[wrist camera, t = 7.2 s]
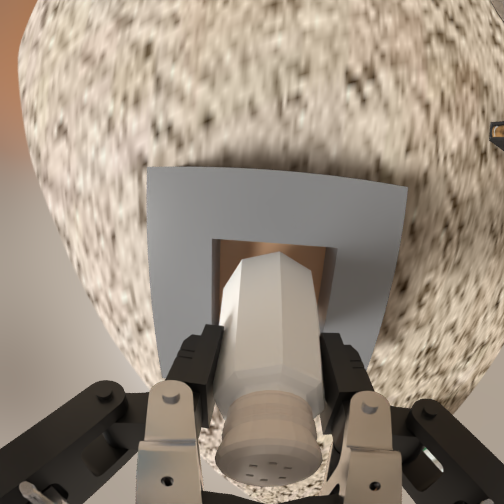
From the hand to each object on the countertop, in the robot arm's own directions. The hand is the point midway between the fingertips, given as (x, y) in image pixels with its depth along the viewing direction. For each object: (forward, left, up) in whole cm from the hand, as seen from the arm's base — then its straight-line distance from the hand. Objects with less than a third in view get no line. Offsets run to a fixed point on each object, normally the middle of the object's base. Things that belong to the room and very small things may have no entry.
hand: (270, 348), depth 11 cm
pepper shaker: (0, 0, -5) cm, 5 cm away
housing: (0, 0, -10) cm, 10 cm away
